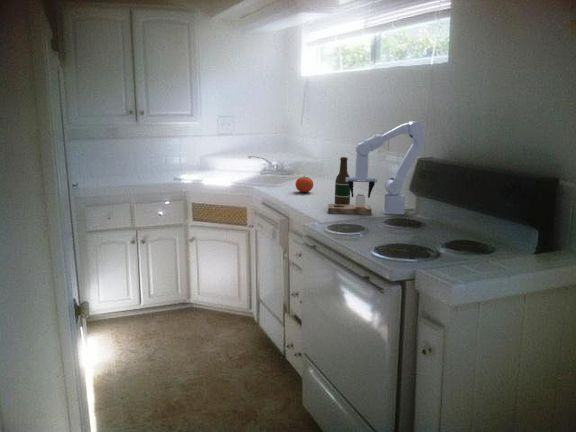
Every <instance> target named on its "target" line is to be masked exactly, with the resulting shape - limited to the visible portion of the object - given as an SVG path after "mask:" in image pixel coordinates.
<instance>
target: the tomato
mask: <svg viewBox="0 0 576 432" xmlns="http://www.w3.org/2000/svg"><path fill="white" fill-rule="evenodd" d="M295 188H296V189H297V191H298V192H300V193H303V192H306V193H309V192H310V191H312V190H313V188H314V182H313V179H311V178H310V177H309V176H308V177H307V176H306V175H304V176H299V177H298V178H297V179H296V181H295Z"/></svg>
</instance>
